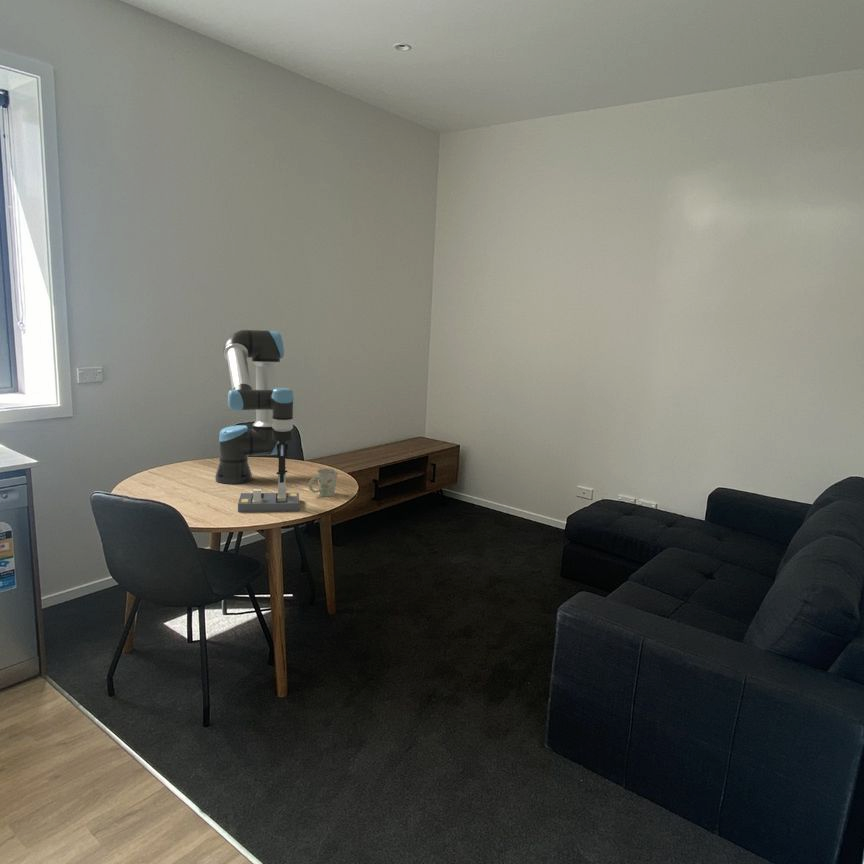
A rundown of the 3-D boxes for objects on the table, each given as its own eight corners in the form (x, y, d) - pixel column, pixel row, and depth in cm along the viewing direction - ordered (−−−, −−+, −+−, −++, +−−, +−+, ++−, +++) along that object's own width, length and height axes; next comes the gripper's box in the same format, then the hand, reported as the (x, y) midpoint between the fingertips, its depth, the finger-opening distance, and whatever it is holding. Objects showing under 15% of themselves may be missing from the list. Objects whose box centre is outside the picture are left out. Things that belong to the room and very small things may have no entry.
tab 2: (277, 498, 239) (277, 484, 238) (286, 498, 239) (286, 484, 238) (277, 501, 235) (277, 487, 234) (286, 501, 236) (286, 487, 235)
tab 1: (252, 502, 232) (252, 488, 231) (261, 502, 233) (261, 488, 232) (252, 505, 228) (252, 491, 227) (261, 505, 229) (261, 491, 228)
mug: (341, 495, 253) (341, 471, 251) (314, 500, 244) (315, 476, 242) (329, 490, 259) (330, 467, 257) (303, 495, 250) (304, 471, 248)
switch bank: (241, 500, 239) (241, 492, 238) (298, 499, 243) (299, 492, 243) (237, 511, 225) (237, 503, 225) (299, 510, 230) (299, 502, 229)
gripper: (272, 425, 235) (272, 485, 240) (271, 432, 223) (270, 495, 227) (292, 426, 237) (291, 485, 242) (292, 433, 225) (291, 494, 229)
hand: (281, 489), depth 234 cm, fingers closed
